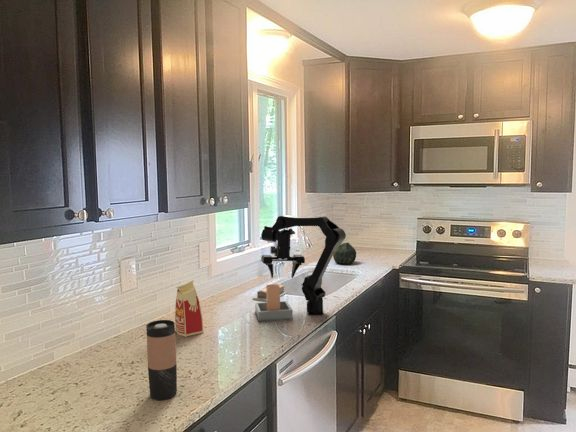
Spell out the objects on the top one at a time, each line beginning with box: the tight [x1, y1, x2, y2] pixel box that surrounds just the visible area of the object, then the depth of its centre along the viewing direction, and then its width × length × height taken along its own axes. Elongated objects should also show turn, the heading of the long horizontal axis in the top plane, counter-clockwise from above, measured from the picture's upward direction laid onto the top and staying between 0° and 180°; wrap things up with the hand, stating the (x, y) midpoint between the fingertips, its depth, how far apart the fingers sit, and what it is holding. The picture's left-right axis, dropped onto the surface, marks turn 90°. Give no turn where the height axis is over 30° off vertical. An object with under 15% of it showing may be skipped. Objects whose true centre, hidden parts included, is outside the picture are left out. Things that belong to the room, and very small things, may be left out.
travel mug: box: [145, 319, 178, 401], centre depth 129 cm, size 8×8×20 cm
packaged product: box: [251, 283, 288, 302], centre depth 231 cm, size 18×5×10 cm
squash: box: [332, 242, 357, 266], centre depth 307 cm, size 14×15×15 cm
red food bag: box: [174, 279, 205, 337], centre depth 180 cm, size 9×9×20 cm
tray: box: [254, 300, 294, 323], centre depth 200 cm, size 14×14×4 cm
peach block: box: [265, 283, 281, 311], centre depth 199 cm, size 5×5×12 cm
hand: (282, 277), depth 210 cm, fingers open, 9 cm apart
